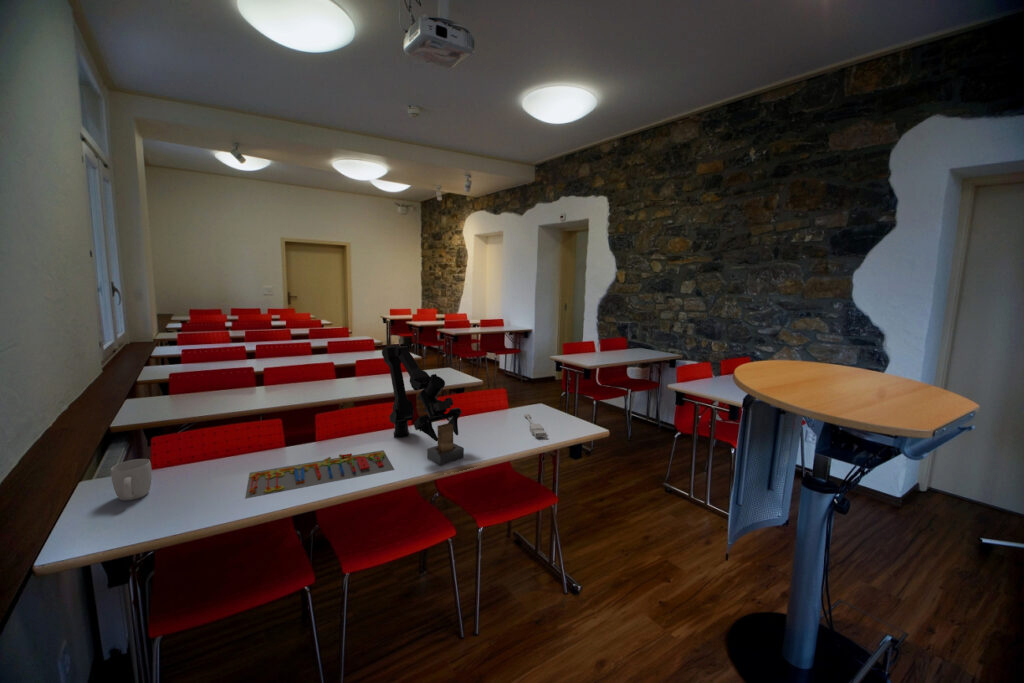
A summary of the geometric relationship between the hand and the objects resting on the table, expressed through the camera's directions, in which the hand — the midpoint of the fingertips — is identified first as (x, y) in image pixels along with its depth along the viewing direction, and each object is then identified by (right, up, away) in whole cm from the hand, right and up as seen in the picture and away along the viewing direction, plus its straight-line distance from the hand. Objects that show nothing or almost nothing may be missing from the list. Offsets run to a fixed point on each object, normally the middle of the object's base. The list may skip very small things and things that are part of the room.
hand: (447, 437), depth 157 cm
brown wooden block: (-1, -8, +2) cm, 9 cm away
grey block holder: (-1, -8, +2) cm, 9 cm away
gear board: (-42, -10, -10) cm, 44 cm away
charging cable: (+34, -4, +39) cm, 52 cm away
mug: (-91, -12, -30) cm, 96 cm away
